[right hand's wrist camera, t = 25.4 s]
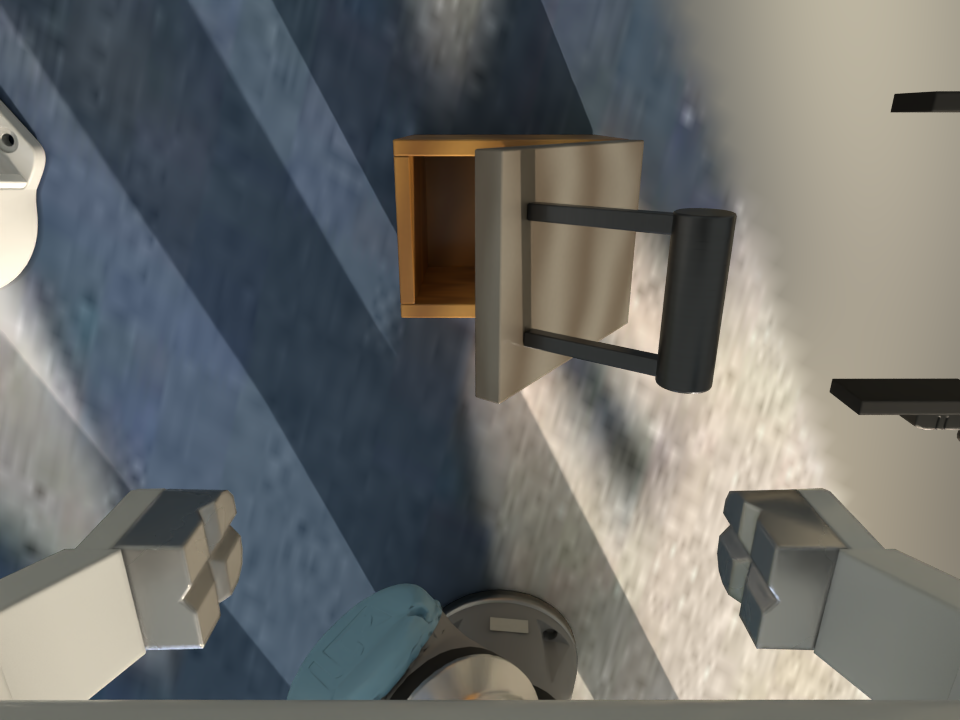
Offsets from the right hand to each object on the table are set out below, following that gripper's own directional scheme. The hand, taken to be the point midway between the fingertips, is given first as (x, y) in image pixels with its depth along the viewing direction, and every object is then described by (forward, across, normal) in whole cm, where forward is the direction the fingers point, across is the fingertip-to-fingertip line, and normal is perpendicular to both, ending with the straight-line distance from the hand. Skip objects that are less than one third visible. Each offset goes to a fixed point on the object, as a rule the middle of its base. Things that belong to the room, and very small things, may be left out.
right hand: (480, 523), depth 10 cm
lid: (+22, +4, 0) cm, 22 cm away
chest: (+39, +2, 0) cm, 39 cm away
